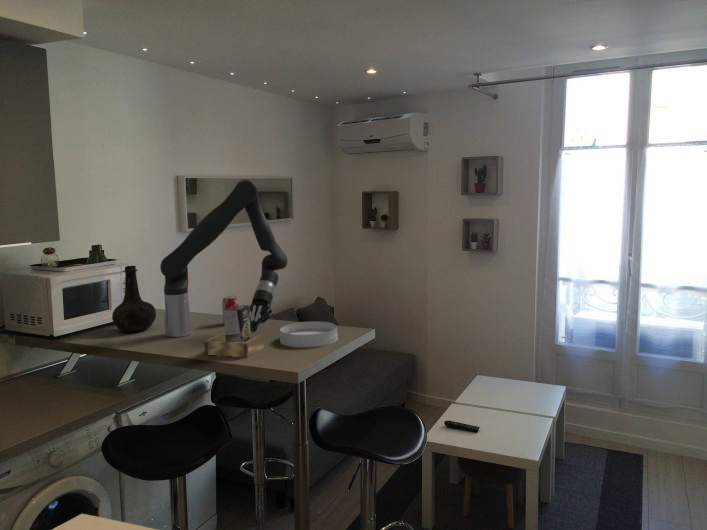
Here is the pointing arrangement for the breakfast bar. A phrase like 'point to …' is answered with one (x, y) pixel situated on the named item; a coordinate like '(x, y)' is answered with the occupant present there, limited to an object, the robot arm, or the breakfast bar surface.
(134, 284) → the glass bottle
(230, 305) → the soda can
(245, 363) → the breakfast bar surface
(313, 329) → the dish
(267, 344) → the breakfast bar surface
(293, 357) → the breakfast bar surface
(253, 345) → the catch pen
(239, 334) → the coffee box
